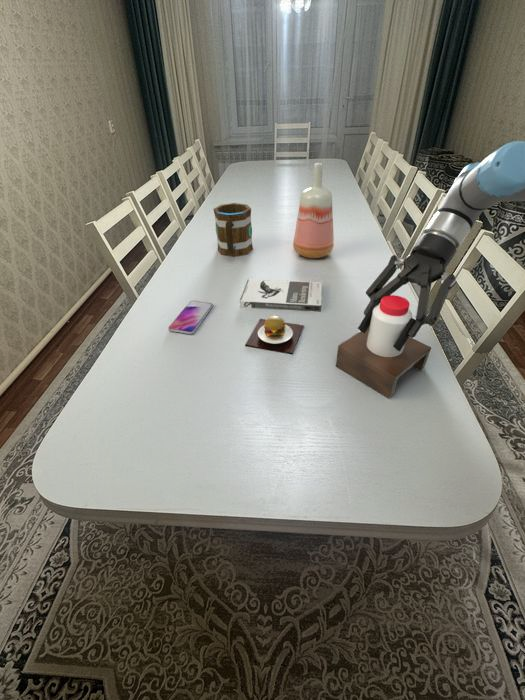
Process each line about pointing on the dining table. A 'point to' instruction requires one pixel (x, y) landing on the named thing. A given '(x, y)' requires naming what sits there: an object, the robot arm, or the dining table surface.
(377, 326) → the pill bottle
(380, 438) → the dining table surface
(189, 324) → the smartphone
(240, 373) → the dining table surface
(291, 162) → the dining table surface
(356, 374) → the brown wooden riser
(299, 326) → the hamburger
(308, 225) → the vase
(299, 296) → the book
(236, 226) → the mug
